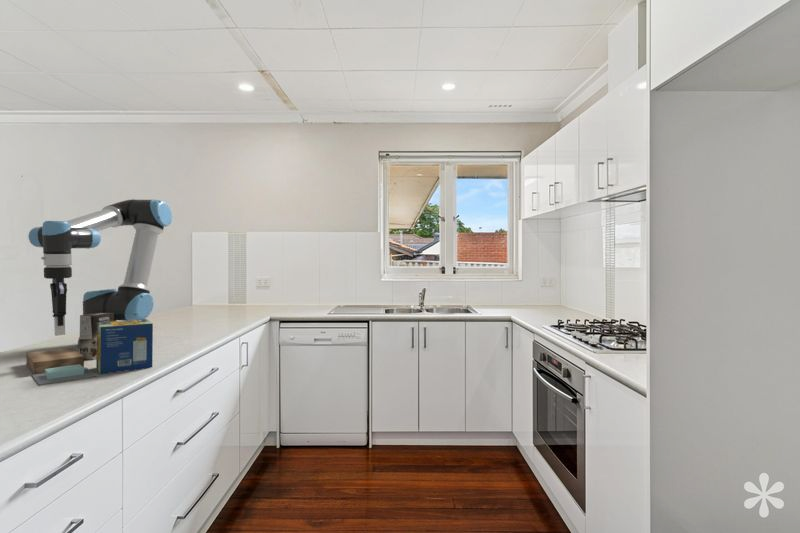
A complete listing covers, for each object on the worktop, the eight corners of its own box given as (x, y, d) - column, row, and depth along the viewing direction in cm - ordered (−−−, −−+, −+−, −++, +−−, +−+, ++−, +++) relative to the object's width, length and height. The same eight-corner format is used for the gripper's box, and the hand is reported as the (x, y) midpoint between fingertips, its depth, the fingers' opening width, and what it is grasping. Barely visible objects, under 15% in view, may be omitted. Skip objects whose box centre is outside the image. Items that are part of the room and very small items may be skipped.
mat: (85, 368, 147) (85, 367, 147) (96, 376, 138) (96, 375, 138) (32, 375, 137) (32, 374, 137) (38, 385, 128) (38, 384, 128)
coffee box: (93, 360, 158) (93, 315, 158) (78, 358, 160) (78, 314, 159) (114, 354, 167) (114, 312, 167) (100, 353, 169) (100, 311, 168)
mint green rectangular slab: (83, 367, 139) (83, 374, 139) (80, 364, 143) (80, 370, 143) (48, 372, 133) (48, 379, 133) (45, 368, 137) (45, 375, 137)
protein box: (95, 367, 148) (95, 322, 148) (147, 361, 158) (147, 318, 158) (99, 374, 140) (99, 326, 140) (153, 367, 150) (153, 322, 150)
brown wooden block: (72, 358, 160) (72, 347, 160) (83, 368, 147) (83, 356, 147) (26, 364, 150) (26, 352, 150) (33, 375, 138) (33, 362, 138)
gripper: (40, 265, 150) (42, 333, 152) (47, 267, 141) (49, 339, 143) (67, 265, 156) (69, 330, 157) (75, 267, 147) (77, 336, 148)
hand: (60, 334), depth 150 cm, fingers closed
